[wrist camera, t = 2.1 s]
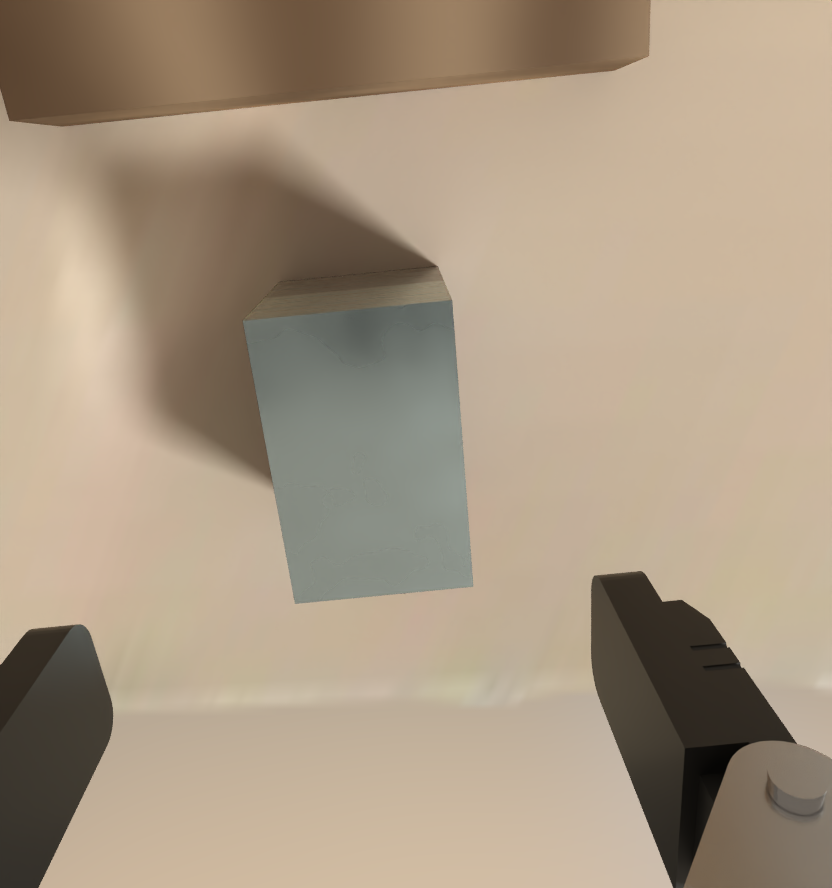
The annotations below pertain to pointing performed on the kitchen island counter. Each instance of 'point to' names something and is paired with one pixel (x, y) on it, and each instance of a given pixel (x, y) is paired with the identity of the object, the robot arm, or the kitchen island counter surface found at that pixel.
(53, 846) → the robot arm
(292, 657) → the kitchen island counter surface
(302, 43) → the walnut stand
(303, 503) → the block
